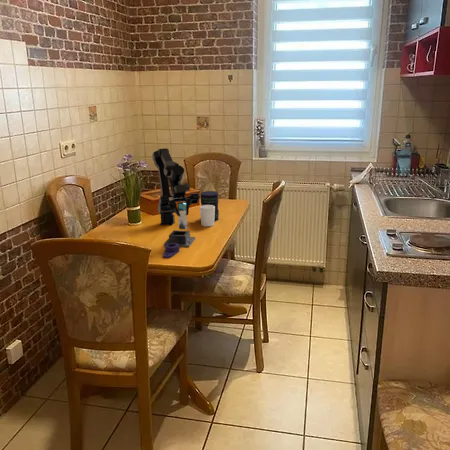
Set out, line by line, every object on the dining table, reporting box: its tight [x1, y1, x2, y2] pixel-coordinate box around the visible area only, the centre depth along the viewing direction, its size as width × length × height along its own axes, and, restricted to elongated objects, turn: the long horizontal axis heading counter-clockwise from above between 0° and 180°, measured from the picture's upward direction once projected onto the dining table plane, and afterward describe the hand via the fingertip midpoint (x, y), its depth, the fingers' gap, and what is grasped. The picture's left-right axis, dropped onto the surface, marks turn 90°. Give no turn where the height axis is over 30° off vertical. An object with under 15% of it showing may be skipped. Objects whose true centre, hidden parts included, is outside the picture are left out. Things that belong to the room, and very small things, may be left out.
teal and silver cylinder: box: [177, 201, 188, 230], centre depth 214 cm, size 4×4×12 cm
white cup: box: [199, 205, 215, 227], centre depth 243 cm, size 8×8×10 cm
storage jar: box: [199, 190, 220, 222], centre depth 252 cm, size 10×10×15 cm
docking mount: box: [163, 229, 196, 248], centre depth 217 cm, size 12×12×4 cm
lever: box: [162, 243, 180, 259], centre depth 202 cm, size 12×6×3 cm, turn 169°
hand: (183, 215), depth 213 cm, fingers closed on teal and silver cylinder, 4 cm apart
